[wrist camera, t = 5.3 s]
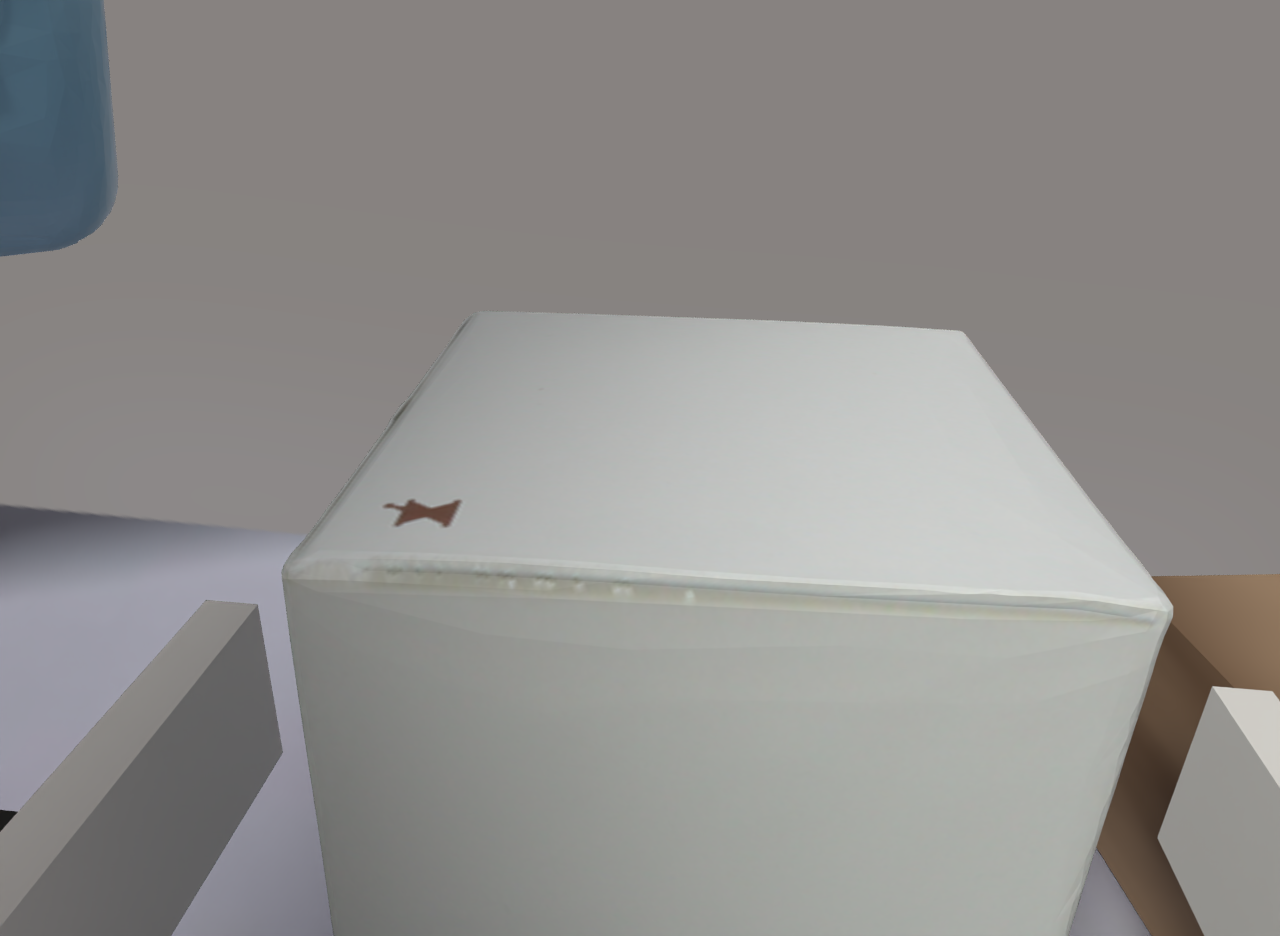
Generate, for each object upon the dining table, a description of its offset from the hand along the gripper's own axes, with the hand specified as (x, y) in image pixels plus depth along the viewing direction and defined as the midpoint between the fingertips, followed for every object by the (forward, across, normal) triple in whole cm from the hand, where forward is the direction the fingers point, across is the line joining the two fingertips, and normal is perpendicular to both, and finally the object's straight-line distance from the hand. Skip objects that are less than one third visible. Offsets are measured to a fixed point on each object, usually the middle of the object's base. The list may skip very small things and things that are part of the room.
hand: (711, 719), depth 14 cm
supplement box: (-1, 0, -8) cm, 8 cm away
